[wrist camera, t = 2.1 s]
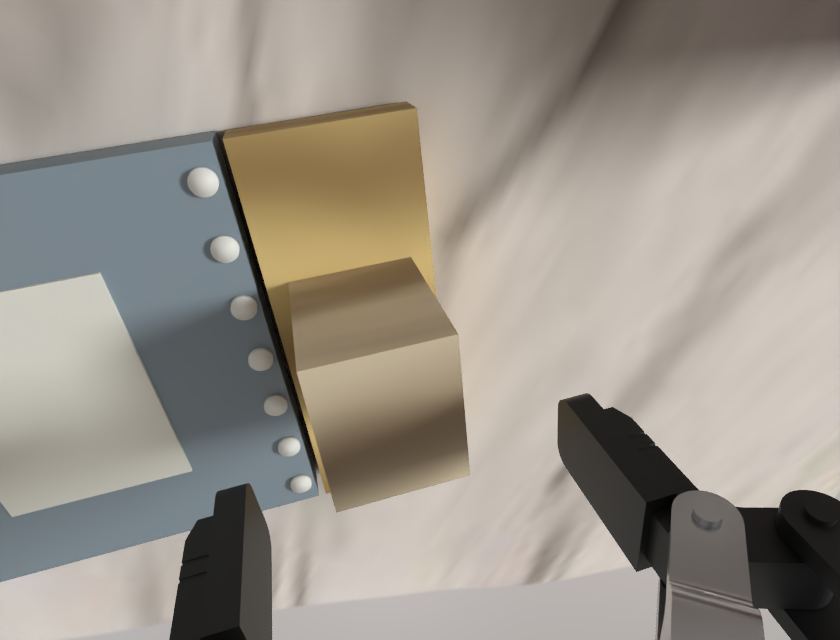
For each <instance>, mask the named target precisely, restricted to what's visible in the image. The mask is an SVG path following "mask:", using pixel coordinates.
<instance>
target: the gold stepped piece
mask: <svg viewBox="0 0 840 640" xmlns="http://www.w3.org/2000/svg"><path fill="white" fill-rule="evenodd" d="M223 142H224V146H225V149H226V153H227V156H228V160H229V163H230V166H231V170H232V173H233V177H234V180H235V183H236V187H237V190H238V194H239V197H240V201H241V204H242V207H243V211H244V214H245V218H246V221H247V225H248V228H249V231H250V235H251V238H252V242H253V245H254V248H255V252H256V255H257V259H258V262H259V266H260V269H261V272H262V276H263V279H264V283H265V286H266V289H267V293H268V296H269V300H270V303H271V307H272V310H273V313H274V317H275V320H276V324H277V327H278V331H279V334H280V337H281V341H282V344H283V348H284V351H285V354H286V358H287V361H288V365H289V368H290V372H291V375H292V378H293V382H294V385H295V389H296V392H297V395H298V399H299V402H300V406H301V409H302V413H303V416H304V419H305V423H306V426H307V430H308V433H309V436H310V440H311V443H312V447H313V450H314V454H315V457H316V460H317V464H318V467H319V471H320V474H321V478H322V481H323V484H324V488H325V491H326V493H330V492H331V495H332V498H333V502H334V505H335V509H336V512H340V511H343V510H347V509H350V508H354V507H358V506H361V505H365V504H368V503H372V502H376V501H379V500H383V499H386V498H390V497H393V496H397V495H401V494H404V493H408V492H411V491H415V490H419V489H422V488H426V487H429V486H433V485H437V484H440V483H444V482H447V481H451V480H454V479H458V478H462V477H465V476H469V475H470V470H469V458H468V446H467V434H466V422H465V410H464V398H463V386H462V374H461V362H460V350H459V338H458V333H457V332H456V330H455V328H454V327H453V325H452V323H451V322H450V320H449V318H448V317H447V315H446V313H445V312H444V310H443V309H442V307H441V305H440V304H439V302H438V300H437V299H436V289H435V280H434V270H433V261H432V251H431V242H430V232H429V223H428V213H427V203H426V194H425V184H424V175H423V165H422V156H421V146H420V137H419V127H418V118H417V108H416V107H414V106H412V105H411V104H409V103H407V102H401V103H395V104H389V105H382V106H376V107H370V108H363V109H357V110H351V111H345V112H338V113H332V114H326V115H319V116H313V117H307V118H300V119H294V120H288V121H282V122H275V123H269V124H263V125H256V126H250V127H244V128H237V129H231V130H225V133H224V136H223Z"/></svg>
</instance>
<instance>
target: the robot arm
mask: <svg viewBox="0 0 840 640" xmlns="http://www.w3.org/2000/svg"><path fill="white" fill-rule="evenodd" d="M558 449H559V453H560V456H561V459H562V461H563V463H564V465H565V467H566V468H567V470H568V471H569V473H570V474H571V476H572V477H573V479H574V480H575V482H576V483H577V485H578V486H579V488H580V489H581V491H582V492H583V493H584V495H585V496H586V498H587V499H588V501H589V502H590V504H591V505H592V507H593V508H594V510H595V511H596V513H597V514H598V516H599V517H600V519H601V520H602V522H603V523H604V524H605V526H606V527H607V529H608V530H609V532H610V533H611V535H612V536H613V538H614V539H615V541H616V542H617V544H618V545H619V547H620V548H621V550H622V551H623V553H624V554H625V556H626V557H627V558H628V560H629V561H630V563H631V564H632V566H633V567H634V569H635V570H636V572H637V571H640V570H643V569H646V568H649V567H653V569H654V570H655V571H656V573H657V574H658V576H659V583H658V598H657V618H656V619H657V620H656V638H655V640H765V637H764V629H763V621H762V616H761V612H760V610H759V609H758V608H764V609H768V610H769V612H770V613H771V614H772V616H773V617H774V618H775V619H776V621H777V622H778V623H779V624H780V626H781V627H782V628H783V630H784V631H785V632H786V633H787V635H788V636H789V637H790V638H791V640H840V501H838V500H837V499H835V498H833V497H831V496H828V495H826V494H823V493H820V492H816V491H810V490H797V491H792V492H789V493H788V494H786V495H785V496H784V497H783V498H782V500H781V502H780V506H779V508H742V507H735V506H734V505H733V504H732V503H730V502H729V501H728V500H726V499H725V498H723V497H721V496H719V495H716V494H714V493H710V492H707V491H700V490H698V489H697V488H696V487H695V486H694V485H693V484H692V482H691V481H690V480H689V479H688V478H687V477H686V476H685V475H684V474H683V473H682V472H681V471H680V470H679V468H678V467H677V466H676V465H675V464H674V463H673V462H672V461H671V460H670V459H669V458H668V457H667V456H666V455H665V453H664V452H663V451H662V450H661V449H660V448H659V447H658V446H655V443H654V442H653V441H652V439H651V438H650V437H649V436H648V435H647V434H646V435H645V433H644V431H643V430H642V429H641V428H640V427H639V426H638V424H637V423H636V422H635V421H634V420H633V419H632V418H631V417H629V416H627V415H626V414H624V413H622V412H620V411H618V410H617V409H615V408H613V407H611V408H607V409H603V408H602V407H601V406H600V405H599V404H598V402H597V401H596V400H595V399H594V398H593V397H592V396H591V395H590V394H588V393H586V394H582V395H578V396H575V397H571V398H567V399H563V400H560V401H559V404H558ZM182 564H183V565H182V566H181V571H180V577H179V580H180V583H179V584H178V590H177V596H176V602H175V608H174V615H173V621H172V628H171V634H170V640H272V563H271V541H270V535H269V530H268V527H267V524H266V521H265V518H264V516H263V513H262V511H261V508H260V506H259V503H258V501H257V498H256V496H255V493H254V491H253V489H252V486H251V485H250V484H249V483H246V484H242V485H239V486H235V487H231V488H228V489H224V490H220V491H217V493H216V495H215V503H214V512H213V516H210V517H206V518H203V519H199V520H197V522H196V523H195V525H194V527H193V529H192V530H191V532H190V534H189V535H188V537H187V539H186V541H185V546H184V552H183V559H182Z"/></svg>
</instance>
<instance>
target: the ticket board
mask: <svg viewBox="0 0 840 640" xmlns="http://www.w3.org/2000/svg"><path fill="white" fill-rule="evenodd" d="M246 483H249V484H250V485H251V486H252V489H253V491H254V493H255V496H256V498H257V501H258V503H259V506H260V508H261V511H263V510H267V509H271V508H274V507H278V506H282V505H285V504H289V503H293V502H296V501H300V500H304V499H308V498H311V497H315V496H319V493H318V484H317V475H316V468H315V465H314V461H313V458H312V455H311V451H310V448H309V444H308V441H307V438H306V434H305V431H304V428H303V424H302V421H301V417H300V414H299V411H298V407H297V404H296V401H295V397H294V394H293V391H292V387H291V384H290V380H289V377H288V374H287V370H286V367H285V364H284V360H283V357H282V353H281V350H280V347H279V343H278V340H277V337H276V333H275V330H274V327H273V323H272V320H271V316H270V313H269V310H268V306H267V303H266V300H265V296H264V293H263V290H262V286H261V283H260V279H259V276H258V273H257V269H256V266H255V263H254V259H253V256H252V252H251V249H250V246H249V242H248V239H247V236H246V232H245V229H244V226H243V222H242V219H241V215H240V212H239V209H238V205H237V202H236V199H235V195H234V192H233V188H232V185H231V182H230V178H229V175H228V172H227V168H226V165H225V162H224V158H223V155H222V151H221V148H220V145H219V141H218V138H217V135H216V131H211V132H205V133H198V134H192V135H186V136H179V137H173V138H167V139H160V140H154V141H148V142H141V143H135V144H129V145H122V146H116V147H110V148H104V149H97V150H91V151H85V152H78V153H72V154H66V155H59V156H53V157H47V158H40V159H34V160H28V161H21V162H15V163H9V164H2V165H0V582H2V581H6V580H10V579H14V578H17V577H21V576H25V575H28V574H32V573H36V572H39V571H43V570H47V569H50V568H54V567H58V566H61V565H65V564H69V563H72V562H76V561H80V560H83V559H87V558H91V557H94V556H98V555H102V554H105V553H109V552H113V551H116V550H120V549H124V548H127V547H131V546H135V545H138V544H142V543H146V542H149V541H153V540H157V539H161V538H164V537H168V536H172V535H175V534H179V533H183V532H186V531H190V530H192V529H193V527H194V525H195V523H196V522H197V520H199V519H203V518H206V517H210V516H213V512H214V503H215V495H216V493H217V491H220V490H224V489H228V488H231V487H235V486H239V485H242V484H246Z"/></svg>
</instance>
